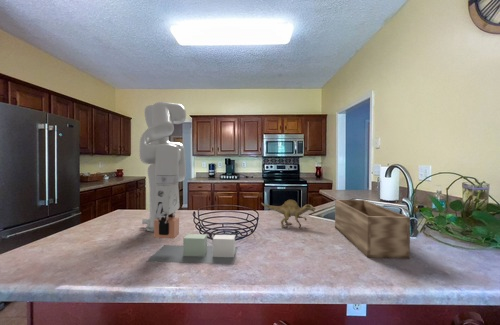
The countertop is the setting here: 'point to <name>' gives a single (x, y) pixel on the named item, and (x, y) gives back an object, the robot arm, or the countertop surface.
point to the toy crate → (373, 229)
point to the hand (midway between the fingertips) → (166, 231)
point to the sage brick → (195, 245)
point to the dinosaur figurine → (290, 211)
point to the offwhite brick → (224, 246)
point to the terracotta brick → (172, 228)
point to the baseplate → (176, 255)
